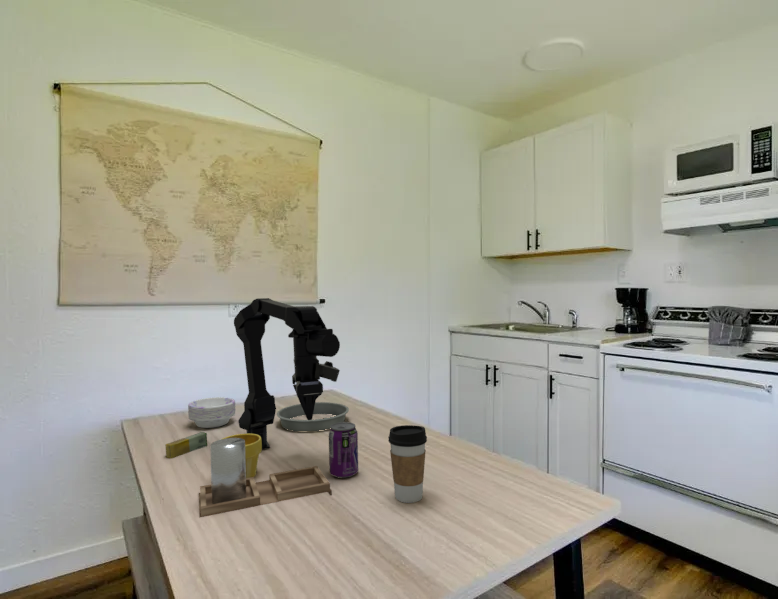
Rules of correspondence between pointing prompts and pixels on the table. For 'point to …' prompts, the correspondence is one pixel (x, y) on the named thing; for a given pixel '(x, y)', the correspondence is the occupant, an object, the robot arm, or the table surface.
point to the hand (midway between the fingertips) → (308, 415)
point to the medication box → (186, 445)
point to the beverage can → (343, 450)
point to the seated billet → (228, 470)
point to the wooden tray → (268, 490)
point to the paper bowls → (211, 411)
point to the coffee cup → (408, 461)
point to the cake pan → (318, 409)
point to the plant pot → (250, 451)
